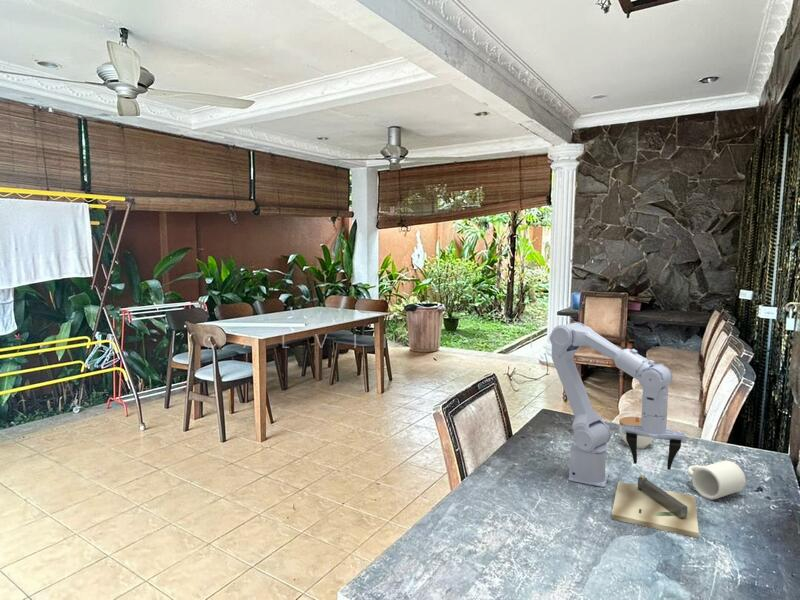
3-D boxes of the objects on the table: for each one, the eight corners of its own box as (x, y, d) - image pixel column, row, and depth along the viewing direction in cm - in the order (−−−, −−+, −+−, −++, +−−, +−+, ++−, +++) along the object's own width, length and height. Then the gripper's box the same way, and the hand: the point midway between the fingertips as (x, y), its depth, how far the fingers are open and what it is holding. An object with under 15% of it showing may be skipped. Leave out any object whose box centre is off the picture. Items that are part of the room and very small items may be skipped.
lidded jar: (658, 444, 168) (660, 416, 167) (648, 454, 160) (650, 425, 159) (624, 436, 175) (625, 409, 174) (613, 445, 167) (614, 417, 166)
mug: (745, 496, 133) (747, 467, 132) (720, 505, 129) (722, 474, 128) (701, 478, 144) (702, 450, 143) (676, 485, 139) (678, 457, 139)
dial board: (611, 518, 122) (611, 513, 122) (617, 485, 139) (618, 481, 139) (698, 538, 114) (698, 532, 114) (694, 500, 131) (694, 495, 131)
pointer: (679, 518, 119) (680, 504, 119) (635, 487, 135) (636, 474, 135) (688, 517, 120) (688, 503, 120) (643, 486, 136) (643, 474, 135)
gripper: (621, 413, 128) (619, 465, 130) (687, 422, 122) (685, 477, 123) (623, 405, 135) (621, 455, 136) (686, 413, 128) (684, 465, 129)
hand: (651, 465), depth 130 cm, fingers open, 7 cm apart
